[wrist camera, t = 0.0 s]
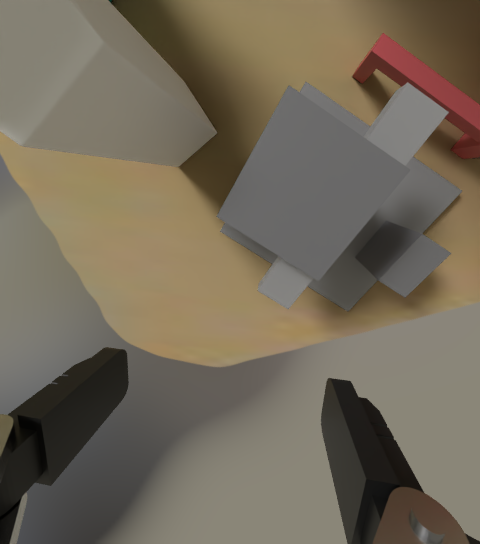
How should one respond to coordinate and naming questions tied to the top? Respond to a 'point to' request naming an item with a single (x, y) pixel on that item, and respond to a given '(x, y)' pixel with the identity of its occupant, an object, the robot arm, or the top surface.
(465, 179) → the top surface
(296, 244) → the stand
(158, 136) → the milk
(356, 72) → the red c-shaped frame
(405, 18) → the top surface
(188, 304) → the top surface
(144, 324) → the top surface
